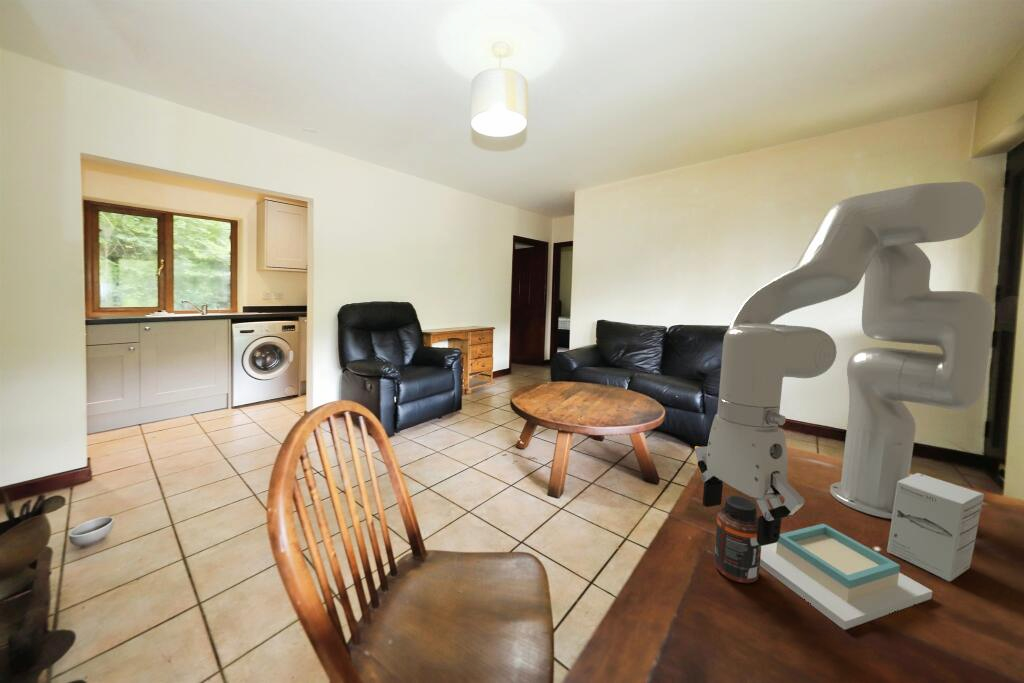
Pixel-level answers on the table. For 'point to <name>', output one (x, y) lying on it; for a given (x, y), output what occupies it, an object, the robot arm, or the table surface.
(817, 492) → the table surface
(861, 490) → the robot arm
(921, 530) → the supplement box
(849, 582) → the teal framed tray
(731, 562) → the supplement bottle
